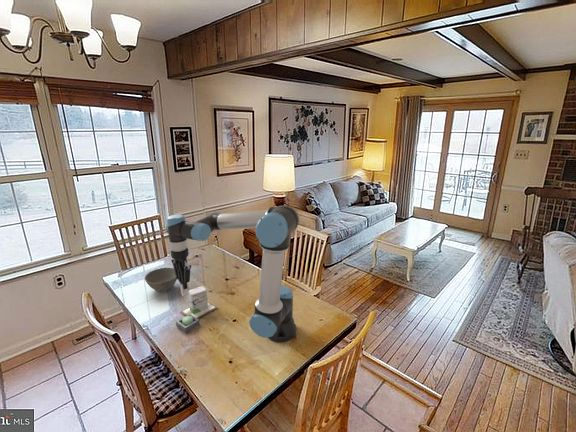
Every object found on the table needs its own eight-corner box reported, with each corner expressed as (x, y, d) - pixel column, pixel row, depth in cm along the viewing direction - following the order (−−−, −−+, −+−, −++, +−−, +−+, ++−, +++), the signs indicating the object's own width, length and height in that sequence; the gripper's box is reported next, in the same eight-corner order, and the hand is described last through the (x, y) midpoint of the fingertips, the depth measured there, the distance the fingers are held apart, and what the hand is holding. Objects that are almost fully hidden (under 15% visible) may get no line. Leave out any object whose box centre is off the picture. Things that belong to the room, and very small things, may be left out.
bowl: (139, 295, 173) (137, 280, 170) (160, 280, 191) (158, 265, 188) (168, 300, 169) (165, 284, 166) (186, 283, 186) (184, 269, 183)
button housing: (199, 325, 148) (199, 320, 147) (185, 333, 142) (184, 328, 141) (190, 318, 153) (190, 313, 152) (176, 326, 147) (175, 321, 146)
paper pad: (217, 308, 162) (217, 307, 161) (193, 321, 150) (193, 320, 150) (204, 300, 169) (204, 299, 169) (180, 312, 158) (180, 311, 157)
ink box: (193, 314, 155) (190, 294, 152) (189, 309, 159) (187, 290, 155) (208, 308, 160) (207, 289, 156) (205, 304, 164) (203, 285, 160)
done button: (195, 324, 148) (194, 318, 147) (186, 329, 144) (185, 323, 143) (189, 319, 151) (188, 314, 150) (180, 324, 147) (180, 319, 146)
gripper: (194, 249, 134) (199, 295, 141) (178, 242, 142) (184, 286, 149) (179, 254, 128) (185, 302, 135) (163, 247, 136) (170, 292, 143)
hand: (184, 293), depth 142 cm, fingers closed
